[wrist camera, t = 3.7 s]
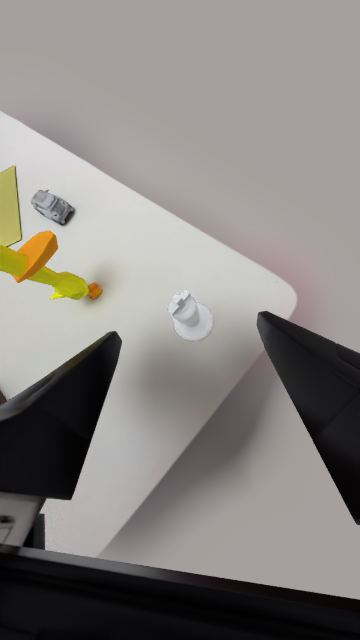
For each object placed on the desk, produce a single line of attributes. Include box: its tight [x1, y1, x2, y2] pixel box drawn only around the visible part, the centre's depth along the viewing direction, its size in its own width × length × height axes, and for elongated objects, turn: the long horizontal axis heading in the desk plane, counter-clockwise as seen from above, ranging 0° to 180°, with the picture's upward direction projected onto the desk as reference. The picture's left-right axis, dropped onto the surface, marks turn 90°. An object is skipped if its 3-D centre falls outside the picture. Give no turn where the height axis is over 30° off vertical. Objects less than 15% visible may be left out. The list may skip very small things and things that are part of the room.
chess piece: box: [167, 290, 213, 341], centre depth 13 cm, size 5×5×10 cm
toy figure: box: [0, 231, 102, 300], centre depth 16 cm, size 7×4×12 cm, turn 135°
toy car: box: [31, 190, 73, 225], centre depth 24 cm, size 4×8×3 cm, turn 57°
